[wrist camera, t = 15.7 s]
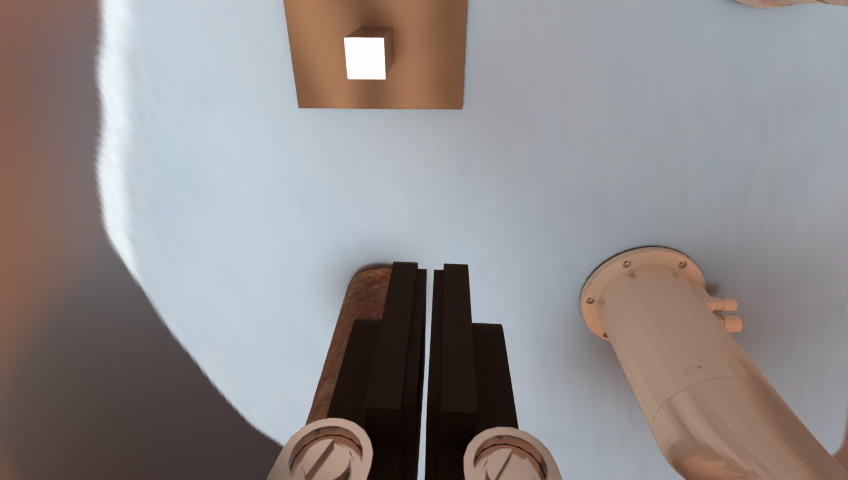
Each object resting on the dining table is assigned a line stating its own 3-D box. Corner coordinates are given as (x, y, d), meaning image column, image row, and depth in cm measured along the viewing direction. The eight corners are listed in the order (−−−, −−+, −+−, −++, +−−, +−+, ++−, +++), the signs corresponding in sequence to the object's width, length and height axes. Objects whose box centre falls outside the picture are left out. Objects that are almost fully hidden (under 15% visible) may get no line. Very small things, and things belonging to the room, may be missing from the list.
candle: (354, 318, 51) (311, 491, 34) (339, 265, 48) (283, 431, 30) (420, 312, 51) (409, 487, 33) (410, 258, 47) (393, 424, 30)
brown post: (392, 27, 35) (383, 37, 29) (393, 62, 36) (385, 79, 31) (359, 27, 35) (344, 37, 29) (361, 62, 36) (347, 78, 31)
